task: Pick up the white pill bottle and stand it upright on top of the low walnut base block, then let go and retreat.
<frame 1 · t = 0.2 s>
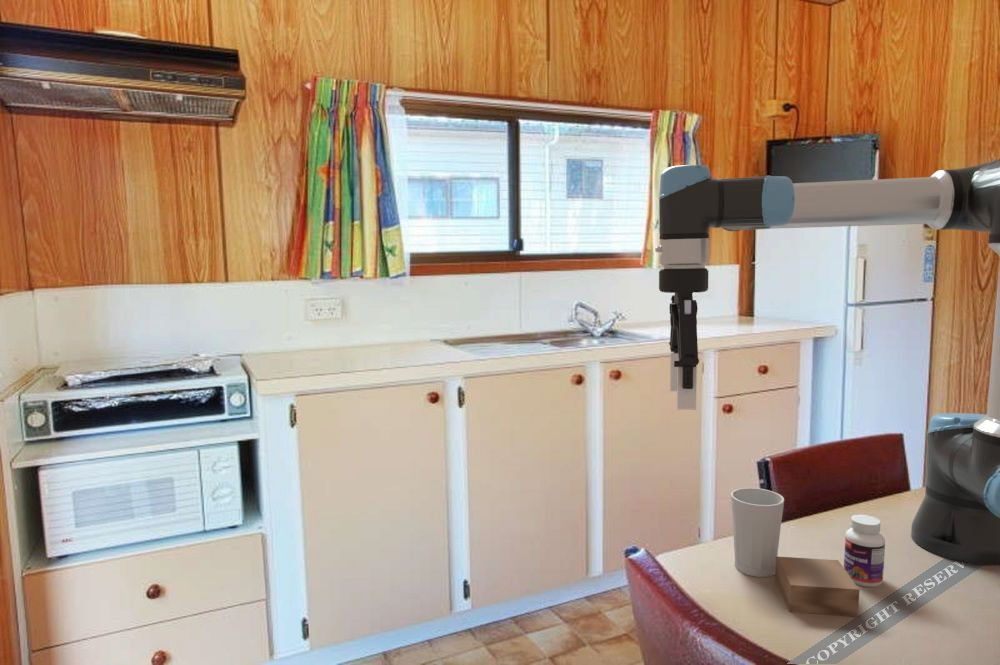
hand: (682, 399, 105), 28 cm above the table, fingers open, 13 cm apart
base: (814, 597, 97), on the table
pill bottle: (862, 580, 102), on the table
cup: (755, 568, 107), on the table
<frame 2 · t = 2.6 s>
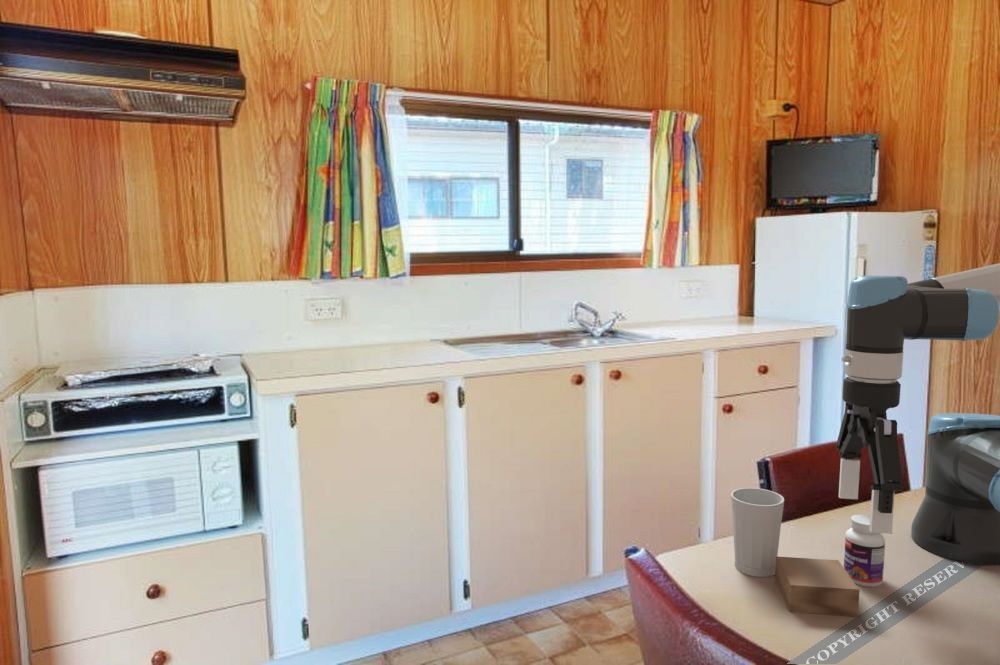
hand: (863, 514, 101), 11 cm above the table, fingers open, 13 cm apart
nothing on the table moved.
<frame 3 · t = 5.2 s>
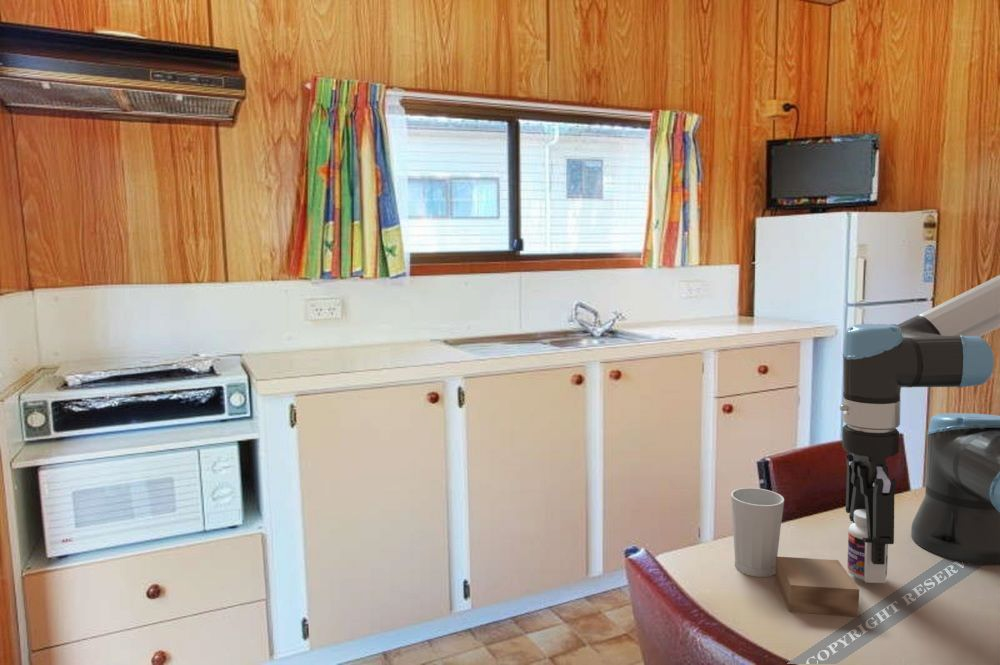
hand: (867, 571, 102), 1 cm above the table, fingers closed on pill bottle, 5 cm apart
pill bottle: (866, 575, 102), point 1 cm above the table, touching gripper
everything else where it was.
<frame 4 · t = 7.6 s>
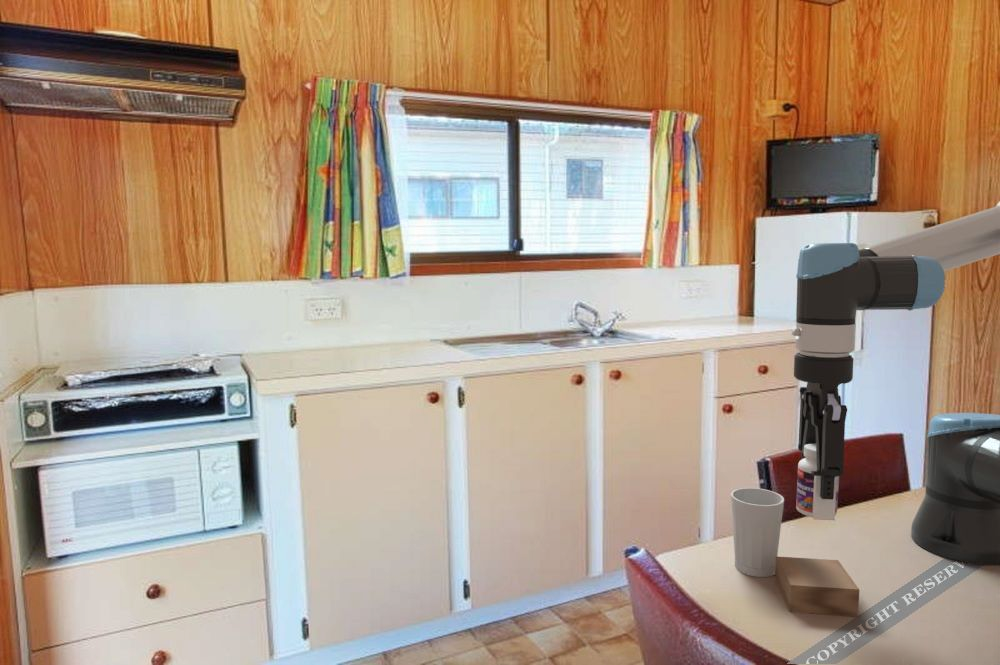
hand: (817, 510, 95), 13 cm above the table, fingers closed on pill bottle, 5 cm apart
pill bottle: (816, 513, 95), point 13 cm above the table, touching gripper
everything else where it was.
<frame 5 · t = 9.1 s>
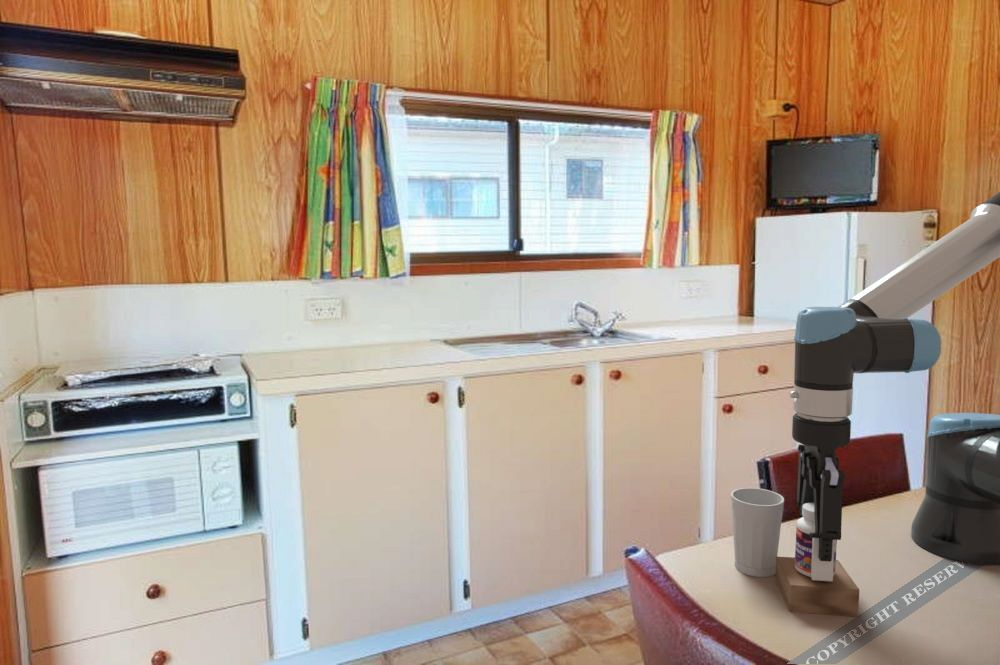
hand: (815, 569, 96), 4 cm above the table, fingers closed on pill bottle, 5 cm apart
pill bottle: (814, 572, 96), point 4 cm above the table, touching gripper
everything else where it was.
when the fingers open (4 cm above the table, at t = 9.8 s): pill bottle stays where it is, resting on base.
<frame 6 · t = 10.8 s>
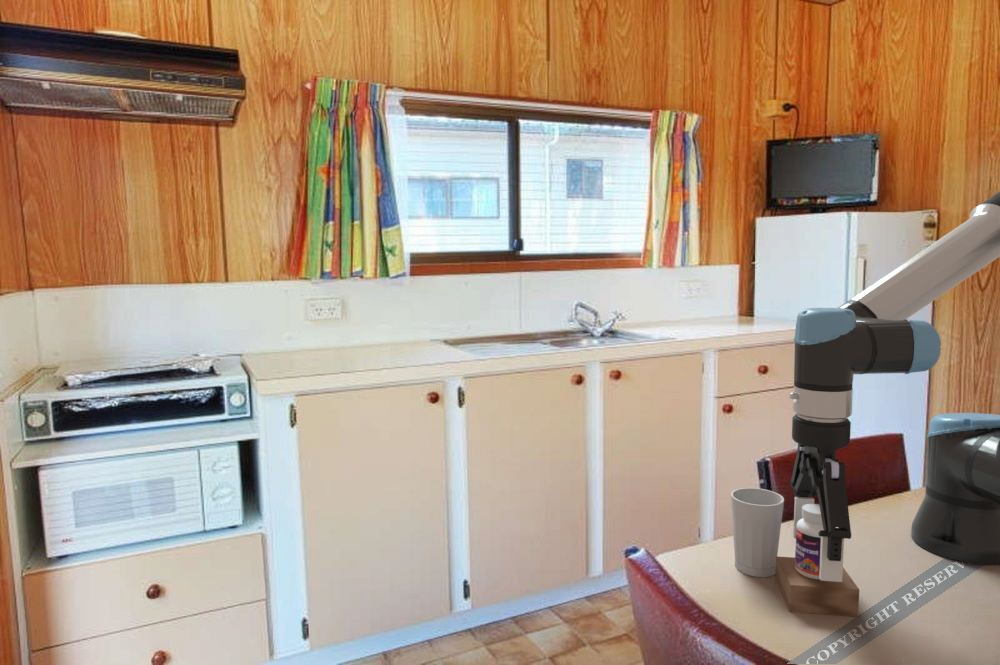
hand: (815, 557, 96), 6 cm above the table, fingers open, 13 cm apart
pill bottle: (814, 573, 96), point 4 cm above the table, touching base
everything else where it was.
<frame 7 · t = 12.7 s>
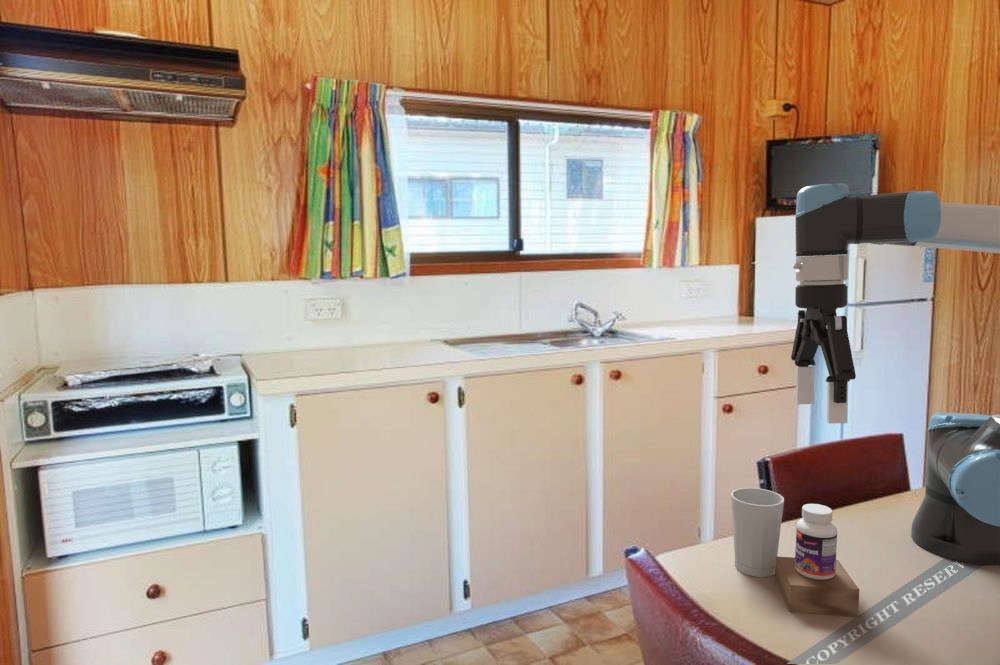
hand: (820, 412, 107), 25 cm above the table, fingers open, 13 cm apart
nothing on the table moved.
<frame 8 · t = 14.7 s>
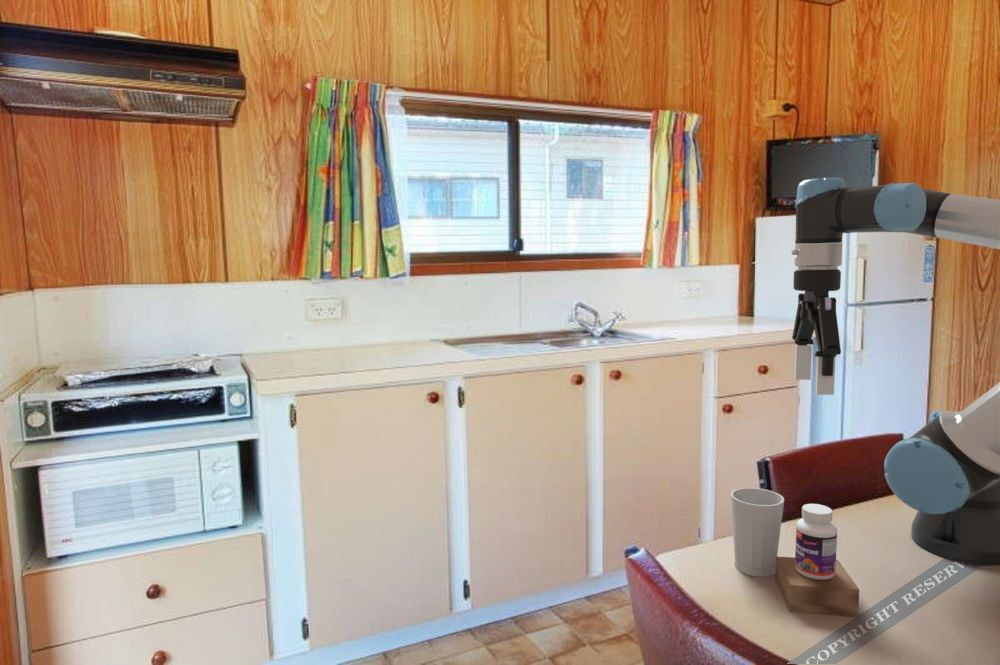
hand: (812, 386, 118), 27 cm above the table, fingers open, 13 cm apart
nothing on the table moved.
at the end: pill bottle inside the target area on the base (0.1 cm from its centre), point 3.8 cm above the base's base; pill bottle tilted 0°; the gripper is holding nothing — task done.
